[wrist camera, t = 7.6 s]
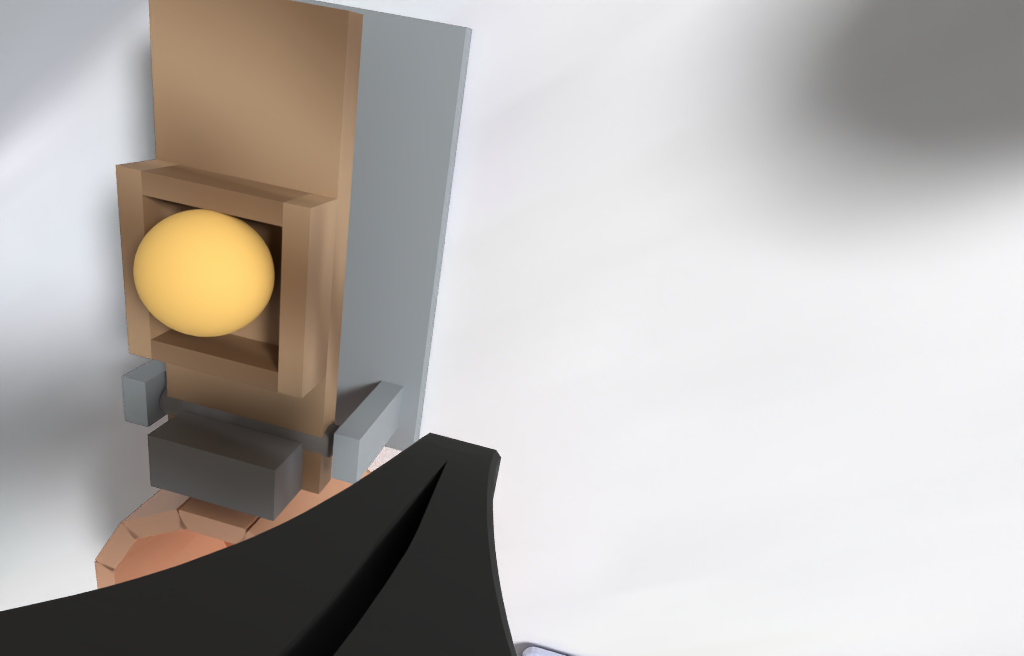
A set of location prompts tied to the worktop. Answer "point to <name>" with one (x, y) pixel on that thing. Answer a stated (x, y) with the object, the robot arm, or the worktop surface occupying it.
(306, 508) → the wooden basket
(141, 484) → the worktop surface
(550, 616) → the worktop surface
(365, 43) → the stand
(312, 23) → the catapult lever
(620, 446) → the worktop surface
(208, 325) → the ball
